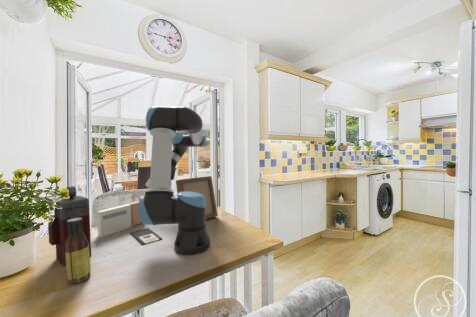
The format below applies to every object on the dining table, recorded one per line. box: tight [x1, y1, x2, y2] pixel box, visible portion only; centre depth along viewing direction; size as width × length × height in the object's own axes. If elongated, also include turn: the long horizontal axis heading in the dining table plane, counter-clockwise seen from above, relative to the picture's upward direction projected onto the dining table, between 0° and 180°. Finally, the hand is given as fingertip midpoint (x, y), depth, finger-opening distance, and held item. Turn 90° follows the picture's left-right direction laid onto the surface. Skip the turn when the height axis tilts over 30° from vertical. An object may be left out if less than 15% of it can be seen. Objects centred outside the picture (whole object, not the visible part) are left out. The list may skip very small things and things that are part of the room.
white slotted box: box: [96, 203, 133, 238], centre depth 112 cm, size 16×3×12 cm, turn 150°
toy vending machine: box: [47, 185, 92, 267], centre depth 84 cm, size 9×11×28 cm
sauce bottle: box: [65, 218, 92, 285], centre depth 71 cm, size 7×6×20 cm
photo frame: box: [175, 175, 218, 220], centre depth 130 cm, size 15×22×25 cm
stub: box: [128, 200, 144, 227], centre depth 123 cm, size 8×3×12 cm, turn 150°
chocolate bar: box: [129, 227, 163, 246], centre depth 106 cm, size 9×1×18 cm
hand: (154, 187), depth 133 cm, fingers open, 13 cm apart
